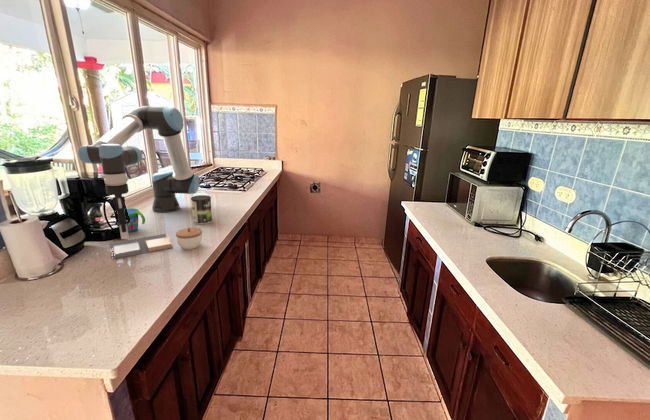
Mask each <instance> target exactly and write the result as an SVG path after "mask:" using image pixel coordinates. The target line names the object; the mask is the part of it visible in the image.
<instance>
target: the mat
mask: <svg viewBox="0 0 650 420" xmlns="http://www.w3.org/2000/svg"><path fill="white" fill-rule="evenodd" d="M165 237H168V236H167V234H166V233H162V234H157V235H156V234H155V235H150V236H145V237H138V238H133V239H131V238H130V239H127V240H126V239H124V240H120V241H119V240H118V241H113V242H109V244H108V245H109V249H110V248H111V249H112V248H113V250H114V246H119V245H124V244H130V243H136V242H138V244H139V247H140V252H141V253H140V254H135V255H130V256H125V257H120V258H115V256H114V254H115V253H113V256H111V254H112V253H111V254H110V260H111V259H112V257H113V259H112V260H111V261H115V260H119V259H124V258H130V257H135V256H140V255H147V254H151V253H156V252H162V251H167V250H171V249H174V247H173V245H172V244H171V248H167V249H161V250H156V251H151V252H149V251H148V248H147V246H146V241H148V240H153V239H159V238H165ZM112 252H114V251H112Z"/></svg>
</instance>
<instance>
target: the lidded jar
mask: <svg viewBox="0 0 650 420" xmlns="http://www.w3.org/2000/svg"><path fill="white" fill-rule="evenodd" d="M175 236H176V242H177V244H178V246H179V247H180V248H182V249H184V250H193V249H196V248H198V247H199V246H200V245H201V244H202V240H203V230H202V229H201V228H199V227H185V228H182V229H179V230H177V231H176V232H175Z"/></svg>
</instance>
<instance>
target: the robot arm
mask: <svg viewBox="0 0 650 420" xmlns="http://www.w3.org/2000/svg"><path fill="white" fill-rule="evenodd" d="M183 129H184V117H183V115H182V113H181V112H180V110H179V109H177V108H176V107H173V106H157V105H156V106H155V105H153V106H151V105H143V106H139V107H137V108H136V107H135V108H134V109H132V110H131V111H129V112H128V113H126V114H125V115H123V116H122V119H121V121H120V122H118V123H117V124H116V125H115V126H114V127H113V128H111V129H109V131H107V132H106V133H105V134H104V135H102V136H101V137H100V138H99V139H98V140H97V141H95V142H94V143H93V144H91V145H90V144H87V145H85V144H84V145H80V147H79V148H78V150H77V155H78V158H79V159H80V161H81V162H83V163H84V164H92V165H101V168H102V173H103V175H102V176H101V179H103V181H104V184H105V185H104V186H105V187H104V188H105V193H106V194H107V195H110V196H114V197H112V202H113V204H114V209H115V211H117V214H118V220H119V221H118V222H119V223H118V222H117V223H116V226H118V227H119V233H120V239H121V240H126V239H127V240H129V239H130V235H129V232H128V228H127V222H128V220H126V216H125V209H126V203H125V202H126V199H125V198H126V197H125V196H124V195H125V194H127V193H128V192H129V186H128V185H129V184H128V183H127V182H128V177H127V171H126V167H128V166H133V165H136V164H138V163H140V162H141V161H142V158H143V153H142V151H141V150H140V148H139V147H138V146H137V147H136V146H133V145H131V146H130V145H128V146H124V144H126V143H127V141H128V140H130V139H131V138H132V137H133V136H134V135H135V134H136V133H140V132H142V131H143V130H155V131H156V132H157V135H158V136H159V137H162V139H163V143H164V146H165V149H166V151H167V154H168V155H167V156H168V157H169V160H170V164H171V167H172V170H173V171H171V170H170V171H160V172H156V173H154V174H151V175H152V176H151V183H152V190H153V196H154V198H153V202H152V207H151V208H152V211H153V212H156V213H171V212H174V211H177V210H179V209H180V206H181V205H180V202H179V201H178V199H177V197H176V194H185V195H187V194H188V195H193V194H194V195H195V194H196V193H197V192H198V190H199V187H200V177H199V175H197V174H195V173H194V171H193V170H192V169H191V168H190V165H189V162H188V158H187V156H186V153H185V148H184V146H183V145H184V144H183V142H182V138H181V135H180V134H181V133H182V130H183ZM122 195H123V196H122Z"/></svg>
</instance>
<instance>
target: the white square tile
mask: <svg viewBox="0 0 650 420" xmlns="http://www.w3.org/2000/svg"><path fill="white" fill-rule="evenodd" d="M114 253H115V258H120V257H125V256H130V255H135V254H140V253H141V252H140V247H139V244H138V242H136V243H130V244H124V245H119V246H114Z"/></svg>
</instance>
